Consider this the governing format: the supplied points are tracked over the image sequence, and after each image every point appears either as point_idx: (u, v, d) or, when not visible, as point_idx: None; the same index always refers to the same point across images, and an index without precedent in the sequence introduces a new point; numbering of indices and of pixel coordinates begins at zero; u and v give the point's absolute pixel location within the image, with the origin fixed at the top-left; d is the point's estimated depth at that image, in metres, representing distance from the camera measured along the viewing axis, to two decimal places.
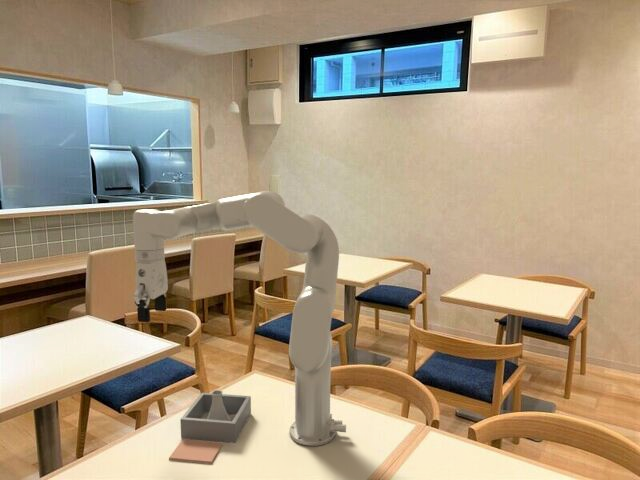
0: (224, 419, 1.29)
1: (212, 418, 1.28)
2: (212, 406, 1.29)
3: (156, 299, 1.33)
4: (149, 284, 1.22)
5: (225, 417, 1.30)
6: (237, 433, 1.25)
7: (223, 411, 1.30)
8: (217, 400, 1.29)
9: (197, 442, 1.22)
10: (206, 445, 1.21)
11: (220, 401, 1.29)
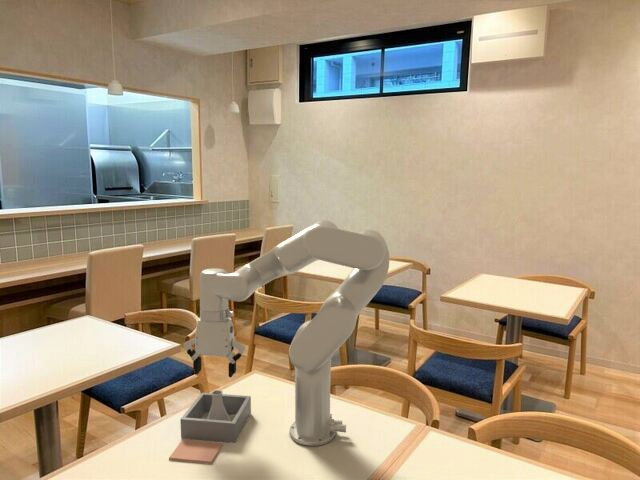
0: (224, 419, 1.29)
1: (212, 418, 1.28)
2: (212, 406, 1.29)
3: (197, 362, 1.28)
4: None
5: (225, 417, 1.30)
6: (237, 433, 1.25)
7: (223, 411, 1.30)
8: (217, 400, 1.29)
9: (197, 442, 1.22)
10: (206, 445, 1.21)
11: (220, 401, 1.29)
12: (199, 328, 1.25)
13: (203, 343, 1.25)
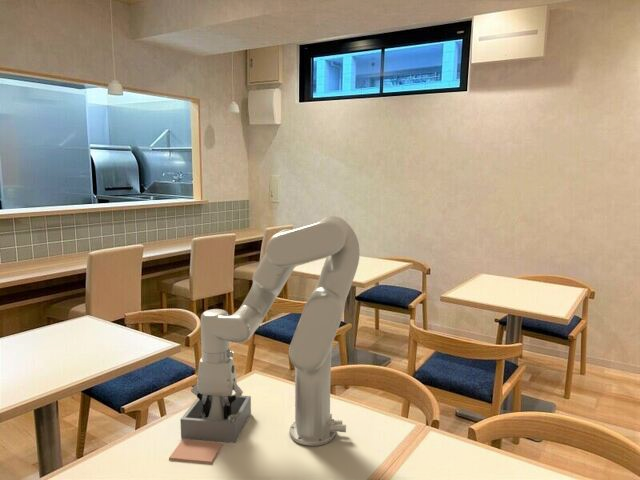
0: (224, 419, 1.29)
1: (212, 418, 1.28)
2: (212, 406, 1.29)
3: (207, 405, 1.30)
4: (235, 376, 1.30)
5: None
6: (237, 433, 1.25)
7: (223, 411, 1.30)
8: (217, 400, 1.29)
9: (197, 442, 1.22)
10: (206, 445, 1.21)
11: (220, 401, 1.29)
12: (201, 369, 1.27)
13: (205, 383, 1.27)
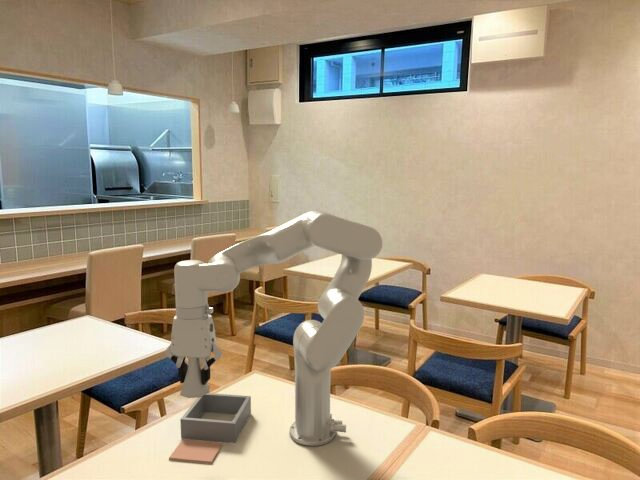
0: None
1: (188, 383, 1.14)
2: (188, 370, 1.14)
3: (183, 369, 1.15)
4: None
5: None
6: (237, 433, 1.25)
7: None
8: (194, 363, 1.14)
9: (197, 442, 1.22)
10: (206, 445, 1.21)
11: (197, 364, 1.15)
12: (175, 327, 1.12)
13: (180, 343, 1.12)
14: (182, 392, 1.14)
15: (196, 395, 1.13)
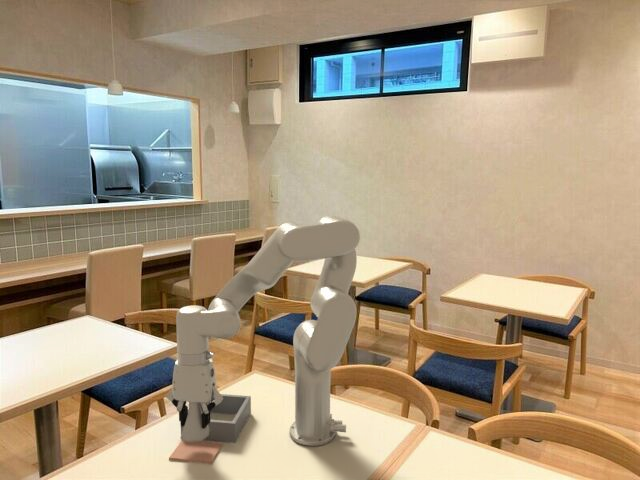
0: (202, 428, 1.16)
1: (189, 427, 1.15)
2: (189, 413, 1.16)
3: (184, 413, 1.16)
4: (215, 380, 1.17)
5: None
6: (237, 433, 1.25)
7: (201, 419, 1.17)
8: (194, 407, 1.15)
9: (197, 442, 1.22)
10: (206, 445, 1.21)
11: (198, 408, 1.16)
12: (176, 372, 1.14)
13: (181, 388, 1.14)
14: (182, 436, 1.16)
15: (196, 439, 1.15)
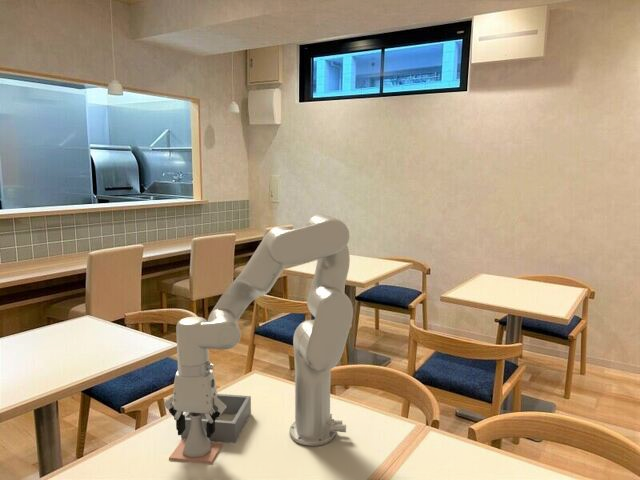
0: (204, 443, 1.17)
1: (191, 442, 1.16)
2: (191, 429, 1.17)
3: (181, 422, 1.17)
4: (216, 390, 1.18)
5: (205, 441, 1.17)
6: (237, 433, 1.25)
7: (203, 434, 1.17)
8: (196, 422, 1.16)
9: None
10: None
11: (200, 423, 1.17)
12: (177, 383, 1.14)
13: (182, 399, 1.14)
14: (185, 451, 1.16)
15: (198, 454, 1.15)
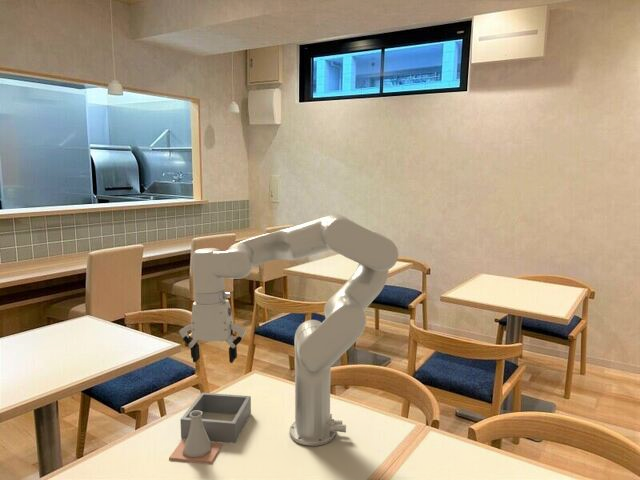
0: (204, 443, 1.17)
1: (191, 442, 1.16)
2: (191, 429, 1.17)
3: (195, 349, 1.20)
4: (232, 320, 1.21)
5: (205, 441, 1.17)
6: (237, 433, 1.25)
7: (203, 434, 1.17)
8: (196, 422, 1.16)
9: None
10: None
11: (200, 423, 1.17)
12: (195, 312, 1.17)
13: (200, 328, 1.18)
14: (185, 451, 1.16)
15: (198, 454, 1.15)
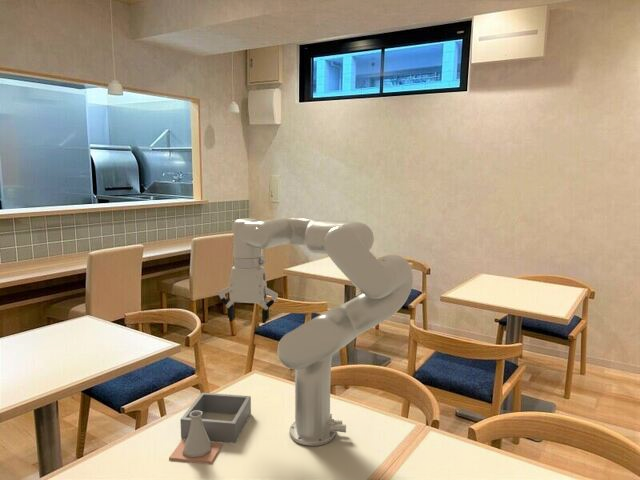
0: (204, 443, 1.17)
1: (191, 442, 1.16)
2: (191, 429, 1.17)
3: (232, 309, 1.33)
4: (266, 285, 1.33)
5: (205, 441, 1.17)
6: (237, 433, 1.25)
7: (203, 434, 1.17)
8: (196, 422, 1.16)
9: None
10: None
11: (200, 423, 1.17)
12: (233, 276, 1.30)
13: (237, 290, 1.30)
14: (185, 451, 1.16)
15: (198, 454, 1.15)
